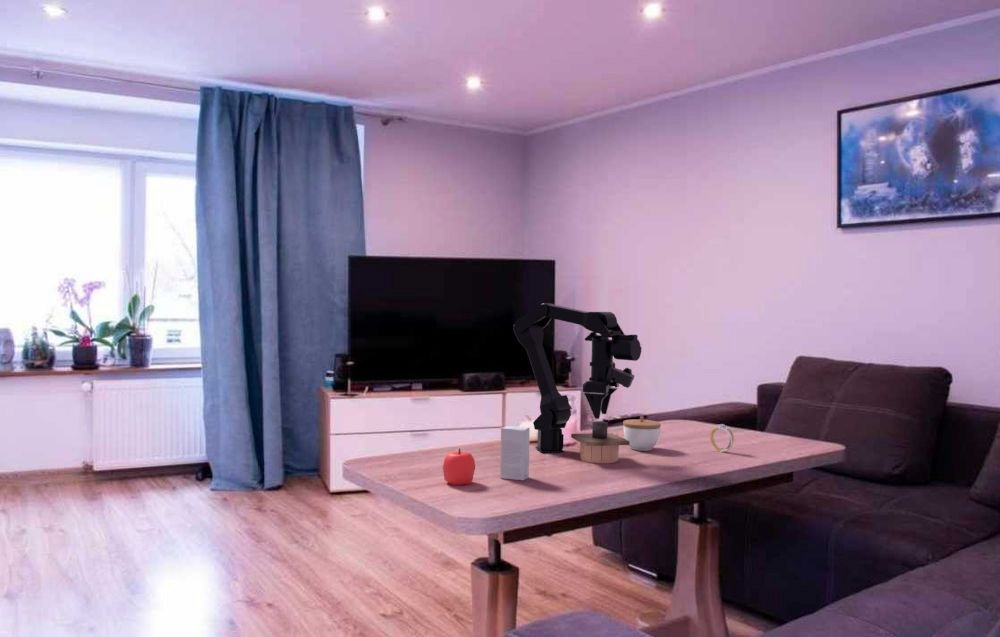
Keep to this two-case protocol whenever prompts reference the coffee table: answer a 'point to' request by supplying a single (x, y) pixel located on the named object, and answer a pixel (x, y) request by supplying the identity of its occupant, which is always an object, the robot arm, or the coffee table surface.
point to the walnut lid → (599, 436)
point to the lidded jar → (641, 433)
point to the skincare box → (514, 453)
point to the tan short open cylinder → (599, 454)
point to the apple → (459, 468)
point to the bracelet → (731, 437)
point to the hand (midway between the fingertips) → (600, 416)
